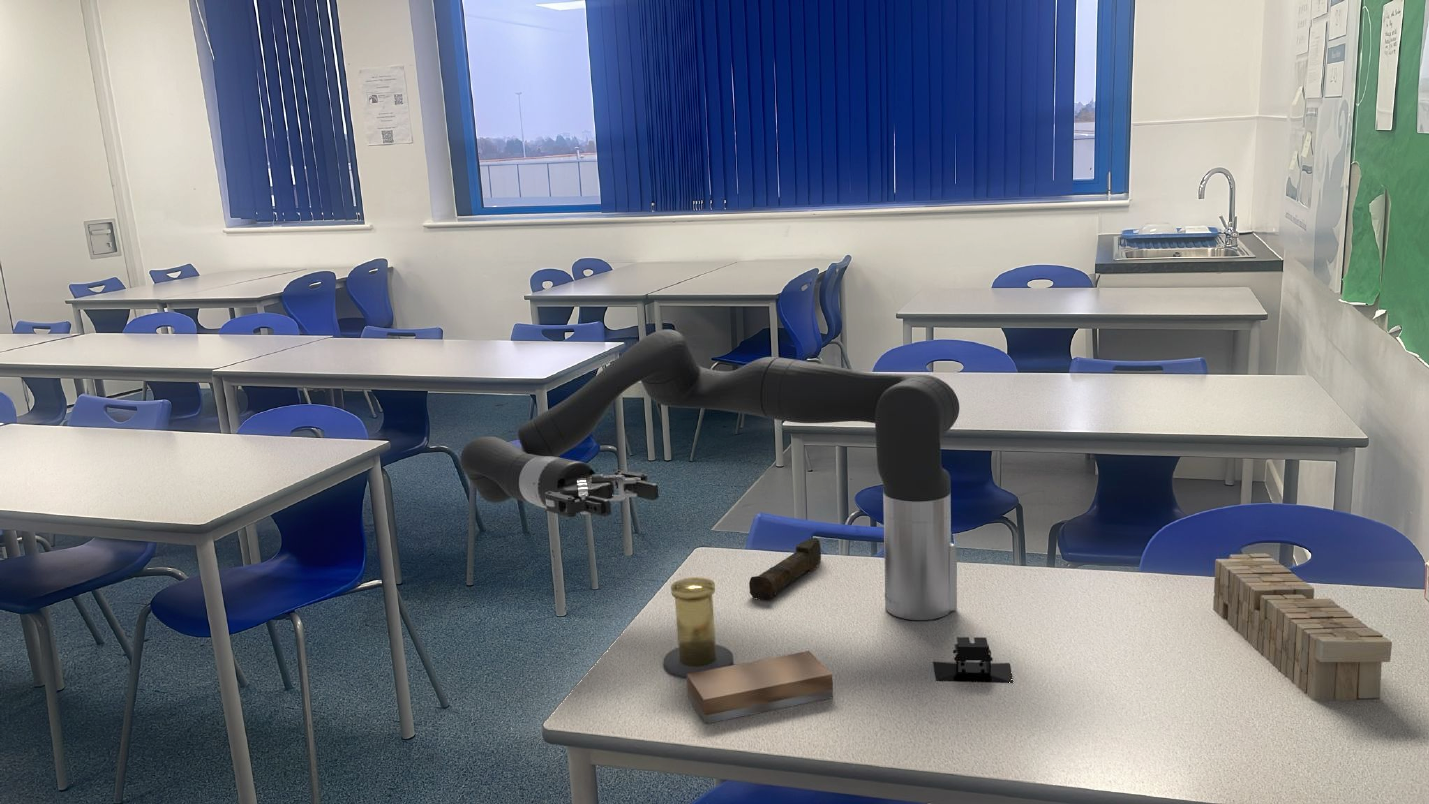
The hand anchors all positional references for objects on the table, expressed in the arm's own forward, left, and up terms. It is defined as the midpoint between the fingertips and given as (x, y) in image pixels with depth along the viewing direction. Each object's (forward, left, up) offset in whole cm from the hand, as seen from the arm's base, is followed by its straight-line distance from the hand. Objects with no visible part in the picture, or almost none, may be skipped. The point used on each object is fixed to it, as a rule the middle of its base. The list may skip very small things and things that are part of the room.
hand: (633, 500), depth 142 cm
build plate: (-36, +26, -21) cm, 49 cm away
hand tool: (-27, -13, -20) cm, 36 cm away
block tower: (-74, +36, -21) cm, 85 cm away
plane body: (-9, +22, -20) cm, 31 cm away
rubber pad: (-5, +10, -20) cm, 23 cm away
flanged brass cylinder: (-5, +10, -19) cm, 22 cm away
